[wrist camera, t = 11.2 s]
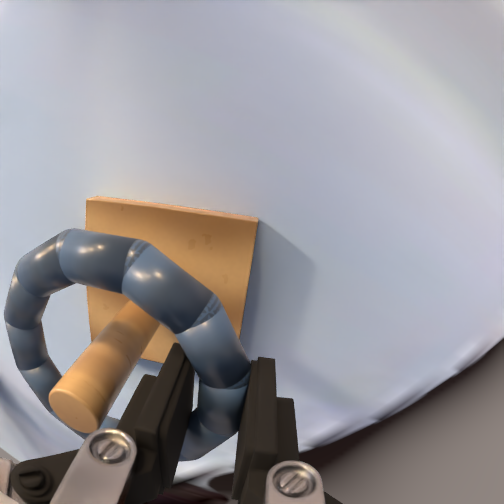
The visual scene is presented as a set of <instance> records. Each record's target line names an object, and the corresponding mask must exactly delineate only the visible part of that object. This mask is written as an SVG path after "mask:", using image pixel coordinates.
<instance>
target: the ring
mask: <svg viewBox="0 0 504 504" xmlns="http://www.w3.org/2000/svg"><path fill="white" fill-rule="evenodd" d="M75 283H79V284H82V285H86V286H90V287H94V288H98V289H103V290H107V291H111V292H115V293H119V294H124V295H125V296H126V297H127V298H128V299H130V300H131V301H132V302H133V303H135V304H136V305H137V306H138V307H140V308H141V309H142V310H144V311H145V312H146V313H147V314H149V315H150V316H151V317H153V318H154V319H155V320H157V321H158V322H159V323H160V324H162V325H163V326H164V327H166V328H167V329H169V330H170V331H171V332H173V333H174V334H175V336H176V338H177V340H178V342H179V343H180V345H181V347H182V349H183V351H184V352H185V354H186V356H187V358H188V359H189V361H190V363H191V364H192V366H193V368H194V370H195V371H196V373H197V375H198V376H199V391H198V404H197V408H196V409H195V410H194V411H192V412H191V415H190V418H189V423H188V428H187V431H186V435H185V439H184V442H183V446H182V450H181V453H180V457H179V461H191V460H196V459H199V458H201V457H202V456H204V455H205V454H207V453H208V452H210V451H211V450H213V449H214V448H216V447H217V446H219V445H220V444H222V443H223V442H225V441H226V440H227V439H229V438H230V437H232V436H233V435H234V434H236V433H237V432H238V431H239V428H240V423H241V418H242V414H243V409H244V404H245V399H246V394H247V389H248V384H249V379H250V372H251V364H250V361H249V359H248V357H247V355H246V353H245V351H244V349H243V347H242V345H241V343H240V341H239V339H238V337H237V335H236V332H235V330H234V328H233V326H232V324H231V322H230V320H229V318H228V315H227V313H226V311H225V309H224V307H223V305H222V303H221V301H220V299H219V298H218V297H217V295H216V294H214V293H213V292H212V291H211V290H209V289H208V288H207V287H205V286H204V285H203V284H202V283H200V282H199V281H198V280H196V279H195V278H194V277H192V276H191V275H190V274H189V273H187V272H186V271H185V270H183V269H182V268H181V267H180V266H178V265H177V264H176V263H174V262H173V261H172V260H171V259H169V258H168V257H167V256H166V255H164V254H163V253H162V252H161V251H159V250H158V249H157V248H156V247H154V246H153V245H152V244H150V243H149V242H147V241H144V240H141V239H136V238H130V237H124V236H118V235H112V234H106V233H100V232H94V231H88V230H82V229H75V228H73V229H67V230H65V231H63V232H61V233H59V234H58V235H56V236H54V237H53V238H51V239H50V240H48V241H46V242H45V243H43V244H41V245H40V246H38V247H37V248H35V249H34V250H32V251H30V252H29V253H27V254H26V255H24V256H23V257H22V258H21V259H20V260H19V261H18V263H17V265H16V267H15V271H14V274H13V278H12V281H11V285H10V289H9V292H8V296H7V300H6V305H5V309H4V319H5V324H6V328H7V332H8V336H9V340H10V344H11V348H12V352H13V355H14V359H15V362H16V365H17V368H18V369H19V371H20V373H21V374H22V376H23V377H24V379H25V380H26V382H27V383H28V384H29V386H30V387H31V389H32V390H33V392H34V393H35V394H36V396H37V397H38V398H39V400H40V401H41V403H42V404H43V405H44V406H45V408H46V409H47V410H48V411H49V412H50V413H51V414H52V415H53V416H54V417H55V418H57V419H58V420H59V421H60V422H62V423H63V424H64V425H66V426H67V427H68V428H70V429H71V430H72V431H74V432H75V433H76V434H78V435H79V436H80V437H82V438H83V439H86V438H87V437H88V435H89V434H90V433H83V432H80V431H77V430H75V429H73V428H72V427H70V426H69V425H67V424H66V423H65V422H63V421H62V420H61V419H60V418H59V417H58V416H57V415H56V413H55V412H54V411H53V409H52V407H51V405H50V402H49V393H50V391H51V390H52V389H53V388H54V386H55V385H56V384H57V383H58V381H59V380H60V379H61V378H62V375H61V374H60V372H59V371H58V369H57V368H56V366H55V365H54V363H53V361H52V360H51V358H50V357H49V355H48V352H47V347H46V343H45V338H44V332H43V327H42V321H41V319H42V316H43V313H44V310H45V308H46V305H47V303H48V300H49V297H50V295H51V294H53V293H55V292H57V291H60V290H62V289H64V288H66V287H68V286H71V285H73V284H75ZM119 421H120V420H118V419H115V418H112V417H109V416H106V418H105V419H104V421H103V423H102V425H101V427H100V428H99V429H102V428H114V429H116V427H117V425H118V423H119Z"/></svg>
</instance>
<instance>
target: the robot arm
mask: <svg viewBox="0 0 504 504" xmlns="http://www.w3.org/2000/svg"><path fill="white" fill-rule="evenodd" d="M194 375H195V370H194V368H193V366H192V364H191V363H190V361H189V359H188V358H187V356H186V354H185V352H184V351H183V349H182V347H181V345H180V343H176V342H174V343H173V345H172V347H171V349H170V351H169V353H168V356H167V358H166V360H165V362H164V364H163V366H162V368H161V370H160V372H159V374H158V377H156V376H152V375H148V374H145V375H144V376H143V377H142V379H141V381H140V383H139V385H138V387H137V389H136V390H135V392H134V394H133V396H132V398H131V400H130V402H129V404H128V406H127V408H126V410H125V412H124V413H123V415H122V417H121V419H120V421H119V423H118V425H117V427H116V429H114V428H102V429H98V430H95V431H94V432H92V433H90V434H89V435H88V437H87V438H86V439H85V441H84V443H83V444H82V446H81V448H80V449H77V450H73V451H69V452H65V453H61V454H56V455H52V456H47V457H42V458H37V459H32V460H26V461H23V462H20V463H19V464H15V463H13V461H12V460H9V459H4V458H0V504H147V502H148V501H151V500H153V499H156V498H157V495H158V494H162V495H163V492H164V489H165V487H167V488H171V486H172V483H173V479H174V476H175V472H176V468H177V464H178V461H179V457H180V453H181V450H182V446H183V442H184V439H185V435H186V431H187V428H188V423H189V418H190V415H191V412H192V407H193V391H194ZM232 499H235V500H238V504H342V503H341V502H339V501H338V500H336V499H335V498H333V497H332V496H330V495H329V494H327V493H326V492H324V491H323V486H322V480H321V477H320V475H319V473H318V472H317V471H316V470H315V469H314V468H313V467H311V466H310V465H308V464H306V463H303V462H300V461H299V451H298V440H297V430H296V419H295V409H294V401H293V399H292V398H281V397H276V372H275V359H272V358H265V357H258V360H257V361H255V360H251V372H250V379H249V384H248V389H247V394H246V399H245V404H244V409H243V414H242V418H241V423H240V428H239V431H238V441H237V451H236V460H235V470H234V479H233V489H232Z"/></svg>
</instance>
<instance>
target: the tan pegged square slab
mask: <svg viewBox="0 0 504 504" xmlns="http://www.w3.org/2000/svg"><path fill="white" fill-rule="evenodd" d="M257 226H258V218H257V217H251V216H244V215H238V214H231V213H224V212H217V211H211V210H204V209H196V208H189V207H182V206H175V205H167V204H159V203H152V202H144V201H135V200H127V199H119V198H110V197H101V196H96V197H91V198H87V199H86V223H85V230H88V231H94V232H100V233H106V234H112V235H118V236H124V237H130V238H136V239H141V240H144V241H147V242H149V243H150V244H152V245H153V246H154V247H156V248H157V249H158V250H159V251H161V252H162V253H163V254H164V255H166V256H167V257H168V258H169V259H171V260H172V261H173V262H174V263H176V264H177V265H178V266H180V267H181V268H182V269H183V270H185V271H186V272H187V273H189V274H190V275H191V276H192V277H194V278H195V279H196V280H198V281H199V282H200V283H202V284H203V285H204V286H205V287H207V288H208V289H209V290H211V291H212V292H213V293H214V294H216V295H217V297H218V298H219V299H220V301H221V303H222V305H223V307H224V309H225V311H226V313H227V315H228V318H229V320H230V322H231V324H232V326H233V328H234V330H235V332H236V335H237V337H238V339H240V333H241V326H242V320H243V314H244V308H245V301H246V295H247V289H248V283H249V276H250V270H251V264H252V258H253V251H254V245H255V239H256V232H257ZM87 301H88V313H89V324H90V333H91V341H92V343H91V344H90V345H89V346H88V347H87V348H86V349H85V351H84V352H83V353H82V354H81V355H80V356H79V358H78V359H77V360H76V361H75V362H74V363H73V365H72V366H71V367H70V368H69V369H68V371H67V372H66V373H65V374H64V375H63V377H62V378H61V379H60V380H59V381H58V383H57V384H56V385H55V386H54V388H53V389H52V390H51V391H50V393H49V402H50V405H51V407H52V409H53V411H54V412H55V413H56V415H57V416H58V417H59V418H60V419H61V420H62V421H63V422H65V423H66V424H67V425H69V426H70V427H72V428H73V429H75V430H77V431H80V432H83V433H92V432H94V431H95V430H98V429H99V428H100V427H101V425H102V423H103V421H104V419H105V418H106V416H107V414H108V412H109V411H110V409H111V407H112V405H113V403H114V402H115V400H116V398H117V396H118V395H119V393H120V391H121V389H122V388H123V386H124V384H125V383H126V381H127V379H128V377H129V376H130V374H131V372H132V371H133V369H134V367H135V366H136V364H137V362H138V360H139V359H140V358H142V359H146V360H151V361H155V362H159V363H164V362H165V360H166V358H167V356H168V353H169V351H170V349H171V347H172V345H173V343H174V342H176V343H179V342H178V340H177V338H176V336H175V334H174V333H173V332H171V331H170V330H169V329H167V328H166V327H164V326H163V325H162V324H160V323H159V322H158V321H157V320H155V319H154V318H153V317H151V316H150V315H149V314H147V313H146V312H145V311H144V310H142V309H141V308H140V307H138V306H137V305H136V304H135V303H133V302H132V301H131V300H130V299H128V298H127V297H126V296H125V295H124V294H119V293H115V292H111V291H107V290H103V289H98V288H94V287H90V286H87Z"/></svg>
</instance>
